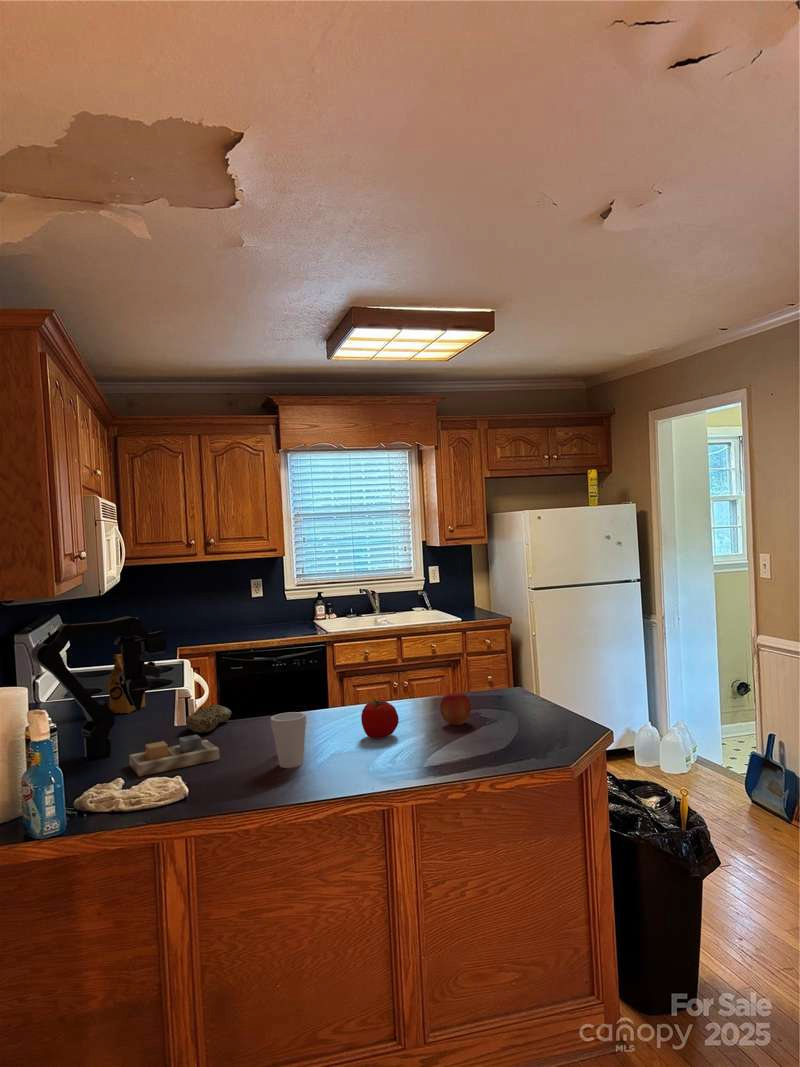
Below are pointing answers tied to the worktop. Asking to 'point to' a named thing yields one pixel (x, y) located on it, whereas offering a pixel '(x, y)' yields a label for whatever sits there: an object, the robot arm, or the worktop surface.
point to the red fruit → (379, 719)
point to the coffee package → (119, 691)
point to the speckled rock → (207, 718)
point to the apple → (455, 708)
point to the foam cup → (289, 738)
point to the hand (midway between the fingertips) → (135, 708)
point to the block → (156, 750)
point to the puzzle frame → (176, 756)
